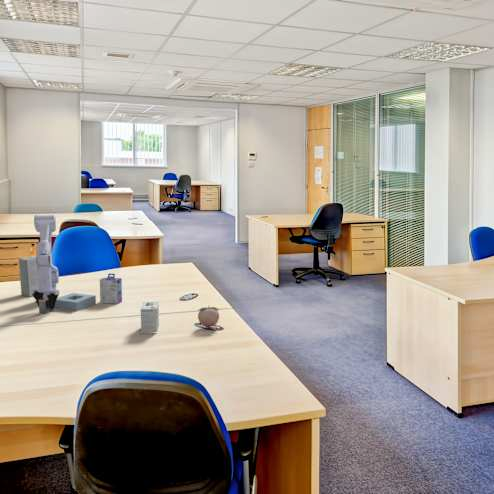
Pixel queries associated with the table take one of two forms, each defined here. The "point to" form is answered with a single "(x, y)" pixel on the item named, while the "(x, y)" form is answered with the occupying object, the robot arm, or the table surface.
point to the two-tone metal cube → (44, 306)
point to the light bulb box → (149, 317)
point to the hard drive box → (28, 275)
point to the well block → (75, 301)
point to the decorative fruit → (208, 316)
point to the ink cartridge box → (111, 289)
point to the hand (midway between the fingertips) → (46, 307)
